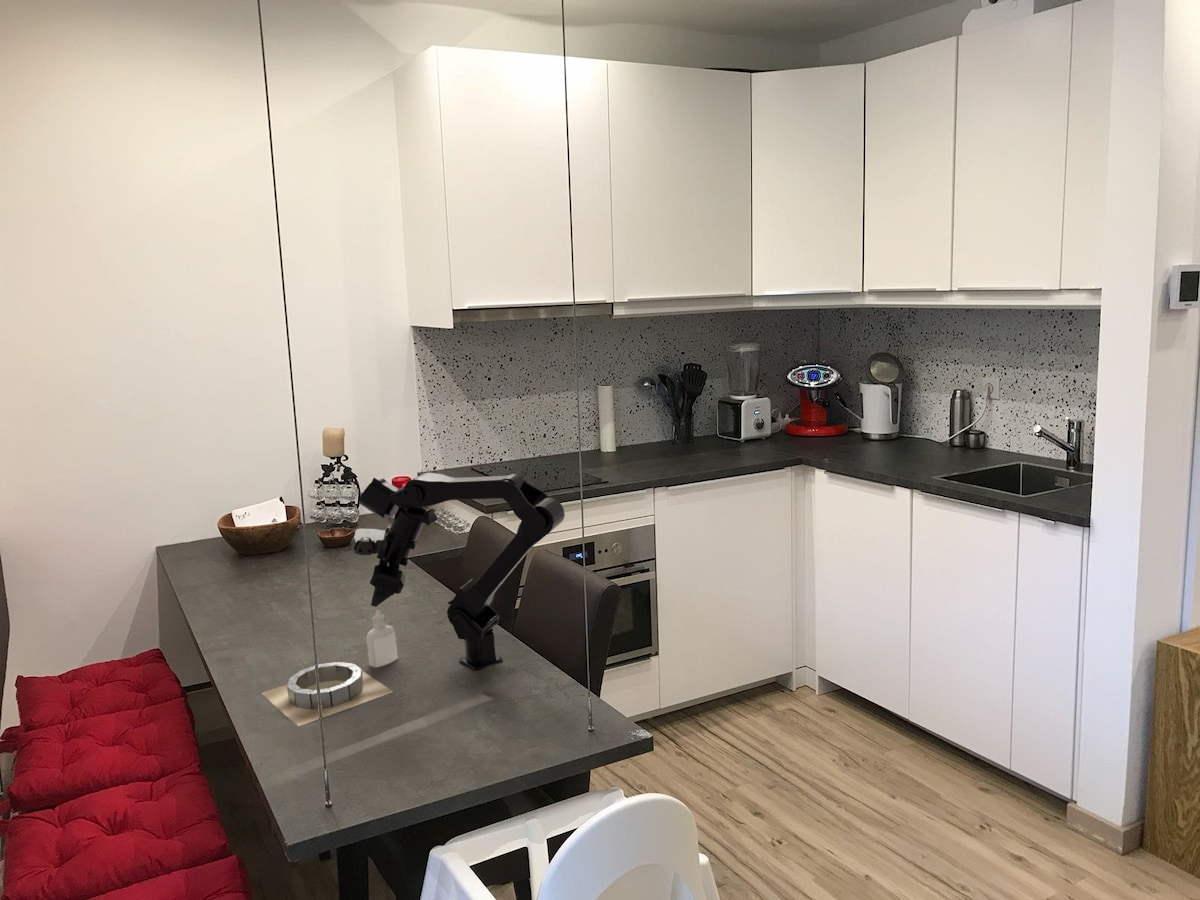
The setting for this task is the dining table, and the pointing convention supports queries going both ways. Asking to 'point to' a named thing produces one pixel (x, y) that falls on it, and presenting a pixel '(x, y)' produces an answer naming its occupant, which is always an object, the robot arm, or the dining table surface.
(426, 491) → the robot arm
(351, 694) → the steel collar
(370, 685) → the birch board
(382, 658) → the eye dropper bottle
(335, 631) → the dining table surface
